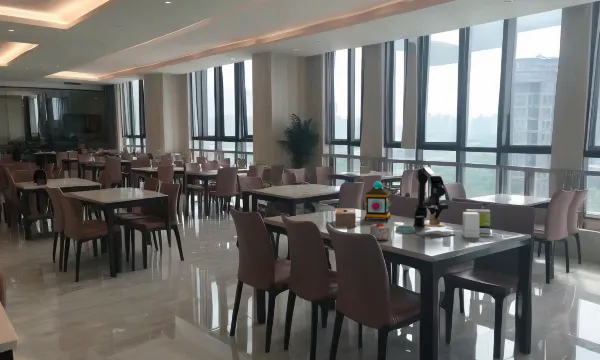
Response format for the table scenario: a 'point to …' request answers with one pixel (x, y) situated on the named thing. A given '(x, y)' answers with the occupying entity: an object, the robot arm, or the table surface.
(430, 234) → the mat
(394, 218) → the table surface
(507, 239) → the table surface
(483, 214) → the tea box
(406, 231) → the bowl
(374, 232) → the food item
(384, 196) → the decorative lantern
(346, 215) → the tissue box cover
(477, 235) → the supplement box
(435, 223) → the lid
